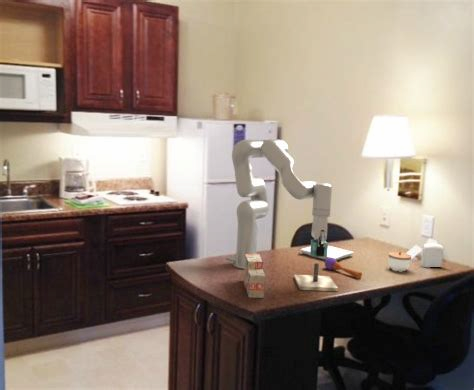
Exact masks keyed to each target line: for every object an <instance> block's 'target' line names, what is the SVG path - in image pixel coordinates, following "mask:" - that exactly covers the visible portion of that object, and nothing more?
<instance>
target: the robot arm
mask: <svg viewBox="0 0 474 390" xmlns="http://www.w3.org/2000/svg"><path fill="white" fill-rule="evenodd" d="M231 151H232V152H231V160H232V164H233V169H234V178H235V185H236V191H237V192H236V193H237V194H238V196H239V197H241V198H250V199H248V200H243V201H242V202H240V203H239V204H238V205H237V208H236V217H237V218H236V220H237V235H236V252H235V255H232V256H230V255H226V261H228V262H232V263H231V264H232V266H233V267H234V268H238V269H243V270H244V268H245V267H244V264H245V254H257V247H258V246H257V245H258V233H259V232H258V231H259V228H258V224H257V221H256V220H259V219H262V218H265V217H266V216H267V215H268V213H269V199H268V192H267V191H268V190H267V186H266V183H265V181H264V179H262V177H259V176H255V175H254V171H253V166H252V164H251V162H250V158H251V159H255V158H265V159H266V160H267V161H268V162H269V164H270V165H272V167H273V168H274V169H275V170H276V171H277V172H278V174H279V179H280V182H281V184H282V186H283V187H284V189H285V190H286V191H287V192H288V194H289V195H291V197H293V198H294V199H296V200H299V201H300V200H306V199H307V200H308V199H312V210H311V216H313V217H312V224H311V225H312V226H311V236H312V238H313V240H318V246H317V251H316V255H317V256H324V246H325V241H326V240H327V238H328V237H327V236H328V223H329V221H328V219H329V217H331V208H332V207H331V206H332V194H333V193H332V192H333V187H332V185H331V184H330V183H326V182H323V183H322V182H317V181H314V180H313V181H312V180H305V181H301V180H300V179H299V178H298V177H297V176H296V175H295V173H294V171H293V167H294V166H295V161H294V159H293V158H292V157H291V155H289V153H288V152H289V147H288V144H287V143H286V141H284V140H282V139H279V138H277V139H272V138H270V139H243V140H239V141H238V142H237V143H236V144H235V145H234V146H233V148H232V150H231ZM319 241H320V243H319Z"/></svg>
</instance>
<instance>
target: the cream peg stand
mask: <svg viewBox="0 0 474 390" xmlns="http://www.w3.org/2000/svg"><path fill="white" fill-rule="evenodd" d="M319 268H320V264H319V263H316V262H315V263H314V265H313V275H311V274H293V278H294V281H295V283H296V285H297V287H298V290H301V291H317V292H319V291H320V292H323V291H324V292H338V290H339V287H338V286H337V284H336V283H335V282H334V280H333V279H332V278H331V276H330V275H319Z"/></svg>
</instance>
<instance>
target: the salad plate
mask: <svg viewBox="0 0 474 390" xmlns="http://www.w3.org/2000/svg"><path fill="white" fill-rule="evenodd" d="M310 250H311V245H309V246H307V247H303V248H300V251H301V252H302V253H303V254H305V255H308V256H310V257H312V258H314V257H313V256H312V255H311V253H310ZM354 253H355V252H354V251H351V250H348V249H344V248H340V247H335V246H332V245H328V248H327V257H315V258H317V259H321V260H324V261H325V260H326V259H327V258H331V257H332V258H334V259H335V260H336V261H338V260H342V259H344V258H347V257H350V256H352V255H353V254H354Z"/></svg>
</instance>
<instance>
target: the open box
mask: <svg viewBox="0 0 474 390" xmlns="http://www.w3.org/2000/svg"><path fill="white" fill-rule="evenodd" d="M319 243H320V241H319ZM310 246H311V250H310V253H311V255H312V256H313V257H312V256H311V257H312V258H316V257H327V248H328V246H329V242H327V241H326V240H325V246H324V256H317V255H316V251H317V246H318V240H314V239H310Z"/></svg>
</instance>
